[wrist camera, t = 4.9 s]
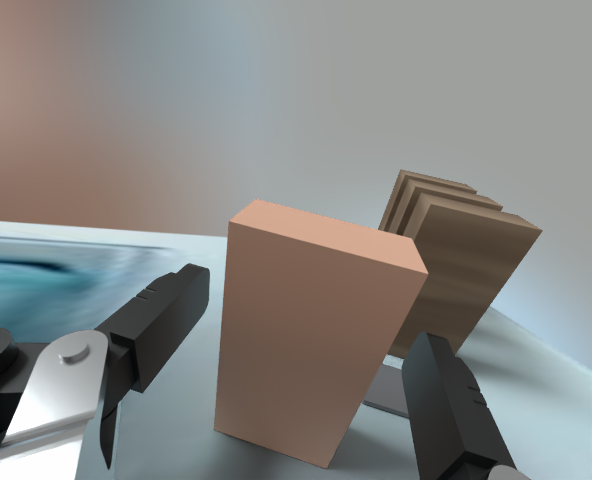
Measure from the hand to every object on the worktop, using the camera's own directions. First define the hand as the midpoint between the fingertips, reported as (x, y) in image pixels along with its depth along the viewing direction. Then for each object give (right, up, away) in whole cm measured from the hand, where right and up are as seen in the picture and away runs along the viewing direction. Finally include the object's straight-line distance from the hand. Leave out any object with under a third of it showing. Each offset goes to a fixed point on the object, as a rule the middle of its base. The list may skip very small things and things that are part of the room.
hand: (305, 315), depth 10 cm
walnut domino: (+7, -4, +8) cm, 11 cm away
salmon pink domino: (-1, -6, +2) cm, 6 cm away
